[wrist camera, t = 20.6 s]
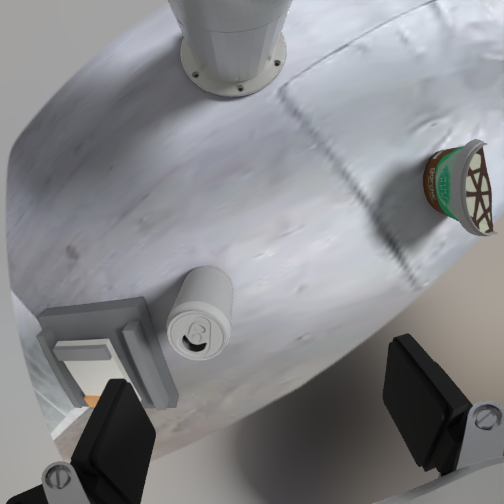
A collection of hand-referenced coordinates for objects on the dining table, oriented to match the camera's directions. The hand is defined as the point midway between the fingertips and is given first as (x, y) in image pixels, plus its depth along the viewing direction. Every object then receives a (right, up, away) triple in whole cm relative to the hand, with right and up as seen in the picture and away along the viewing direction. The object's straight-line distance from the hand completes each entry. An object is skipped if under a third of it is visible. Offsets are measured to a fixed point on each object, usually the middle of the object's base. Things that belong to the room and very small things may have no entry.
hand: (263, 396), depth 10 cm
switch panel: (-22, -11, +32) cm, 40 cm away
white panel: (-22, -12, +27) cm, 37 cm away
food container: (+25, +14, +27) cm, 39 cm away
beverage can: (-6, +1, +29) cm, 30 cm away
